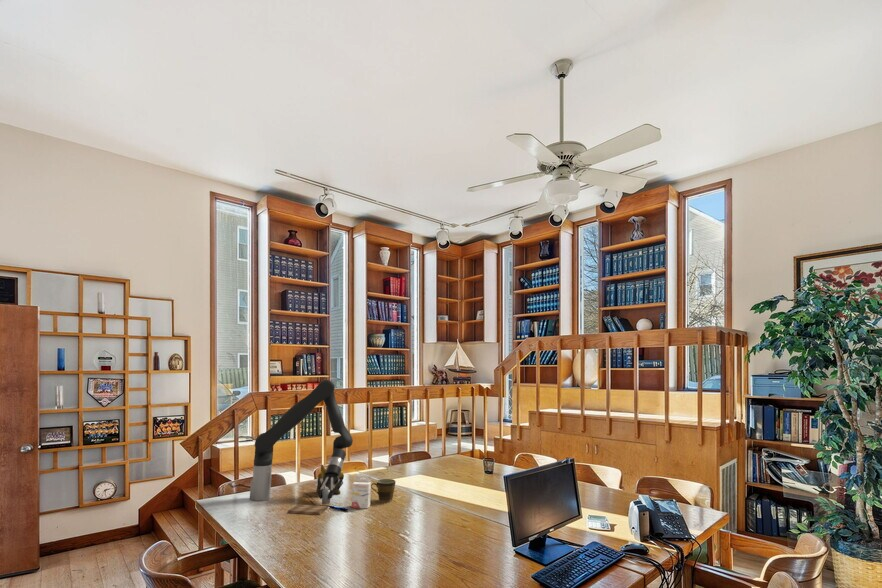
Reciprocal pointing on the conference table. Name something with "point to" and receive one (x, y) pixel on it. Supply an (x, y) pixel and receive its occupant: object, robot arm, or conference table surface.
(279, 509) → the conference table surface
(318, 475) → the gourd
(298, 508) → the walnut board
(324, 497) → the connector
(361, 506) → the ink cartridge box
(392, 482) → the ceramic cup
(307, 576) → the conference table surface
